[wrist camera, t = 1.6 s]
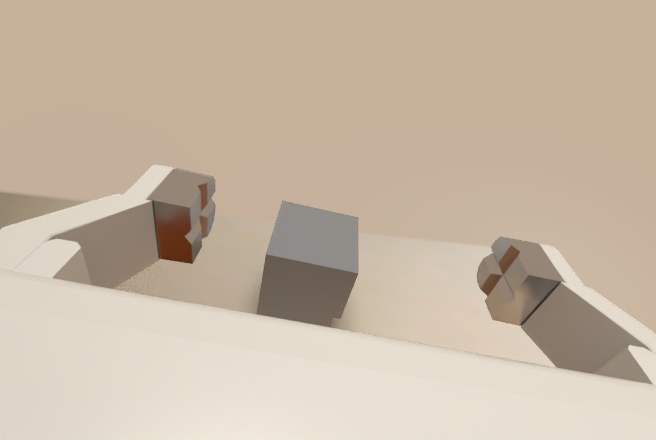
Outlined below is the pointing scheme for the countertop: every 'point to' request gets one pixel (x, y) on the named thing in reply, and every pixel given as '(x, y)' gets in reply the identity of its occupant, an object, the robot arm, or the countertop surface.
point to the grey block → (309, 265)
